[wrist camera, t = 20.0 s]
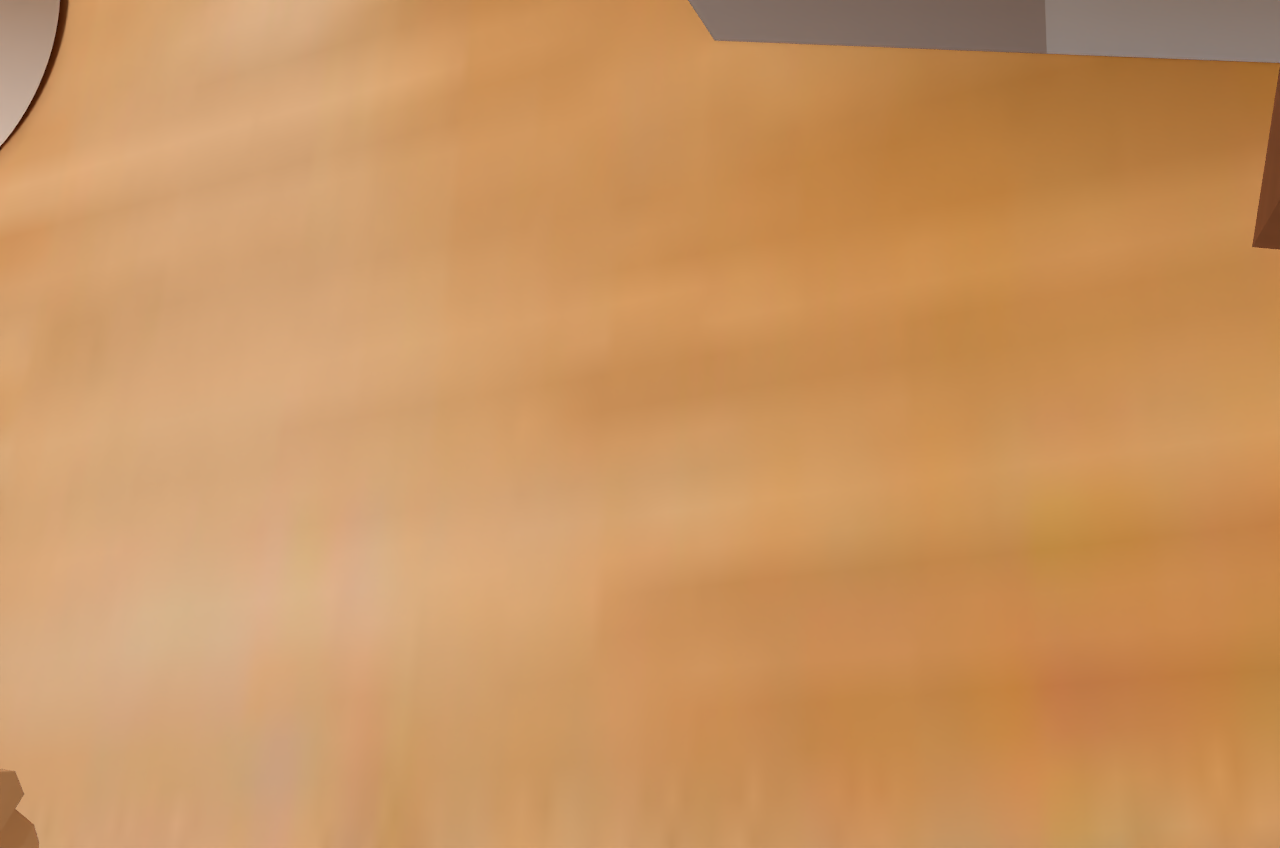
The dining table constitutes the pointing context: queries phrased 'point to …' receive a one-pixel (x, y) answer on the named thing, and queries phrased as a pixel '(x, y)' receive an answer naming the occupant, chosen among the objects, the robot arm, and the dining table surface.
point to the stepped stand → (1012, 25)
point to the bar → (1270, 187)
